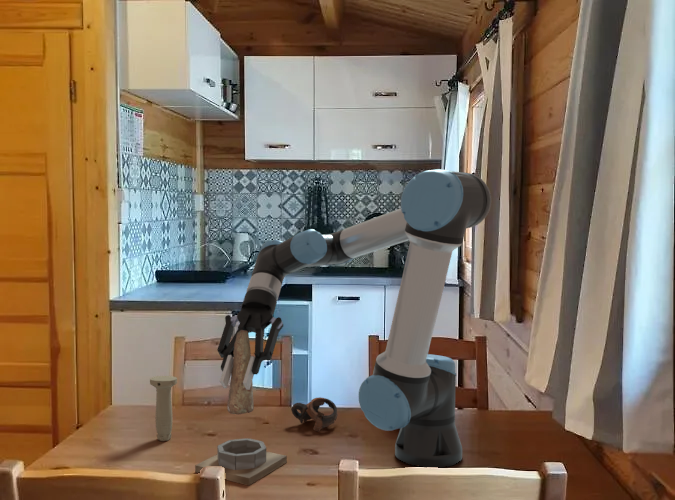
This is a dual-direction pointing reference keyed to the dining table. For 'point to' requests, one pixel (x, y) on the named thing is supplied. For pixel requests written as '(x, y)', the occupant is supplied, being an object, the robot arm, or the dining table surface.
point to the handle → (163, 405)
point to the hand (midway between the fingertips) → (234, 385)
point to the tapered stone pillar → (240, 377)
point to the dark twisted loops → (315, 412)
